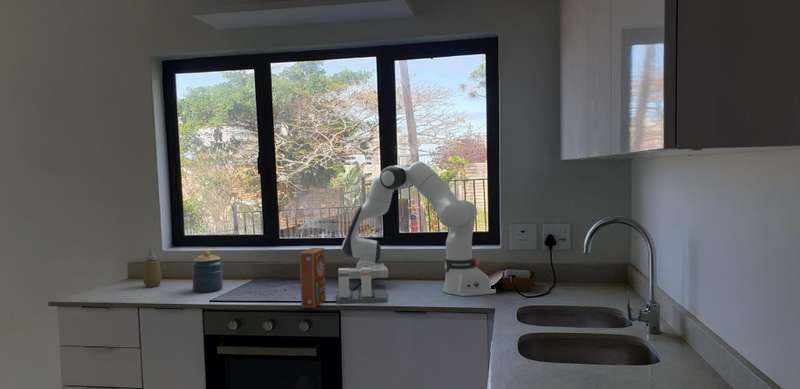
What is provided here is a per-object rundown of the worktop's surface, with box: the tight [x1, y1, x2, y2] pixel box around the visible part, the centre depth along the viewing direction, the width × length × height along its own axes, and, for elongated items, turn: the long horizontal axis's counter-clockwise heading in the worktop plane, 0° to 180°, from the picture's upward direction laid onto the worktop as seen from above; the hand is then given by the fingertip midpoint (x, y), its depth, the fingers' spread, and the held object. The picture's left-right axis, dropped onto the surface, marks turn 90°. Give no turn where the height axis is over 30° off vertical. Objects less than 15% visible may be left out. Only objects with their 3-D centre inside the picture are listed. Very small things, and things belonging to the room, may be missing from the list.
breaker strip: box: [335, 267, 388, 305], centre depth 199 cm, size 20×14×13 cm
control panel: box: [299, 247, 327, 309], centre depth 192 cm, size 21×7×15 cm
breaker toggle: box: [360, 267, 372, 297], centre depth 196 cm, size 4×4×11 cm
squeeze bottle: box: [142, 248, 163, 288], centre depth 230 cm, size 8×8×18 cm
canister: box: [191, 250, 224, 293], centre depth 221 cm, size 13×13×18 cm
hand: (365, 276), depth 211 cm, fingers closed
